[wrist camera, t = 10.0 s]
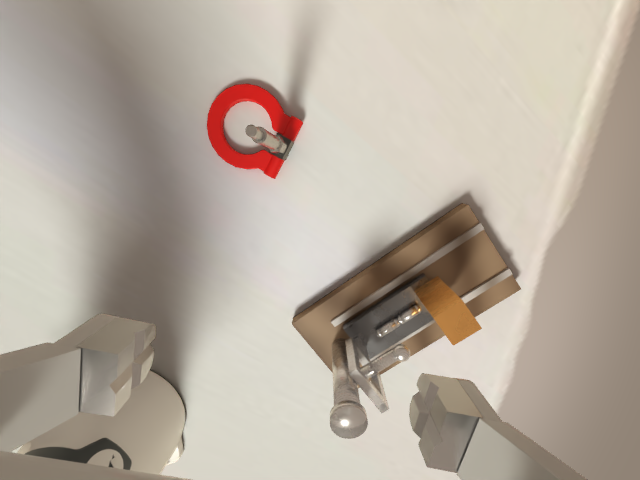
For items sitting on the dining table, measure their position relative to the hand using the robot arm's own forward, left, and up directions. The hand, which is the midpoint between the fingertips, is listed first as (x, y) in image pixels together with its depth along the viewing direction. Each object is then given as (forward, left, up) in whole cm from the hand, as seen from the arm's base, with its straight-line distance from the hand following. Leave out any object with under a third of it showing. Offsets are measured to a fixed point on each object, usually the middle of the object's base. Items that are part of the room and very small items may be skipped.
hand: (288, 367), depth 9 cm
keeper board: (+3, -14, -26) cm, 30 cm away
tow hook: (0, +12, -26) cm, 29 cm away
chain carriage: (+1, -14, -24) cm, 28 cm away
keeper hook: (-4, -14, -24) cm, 28 cm away
